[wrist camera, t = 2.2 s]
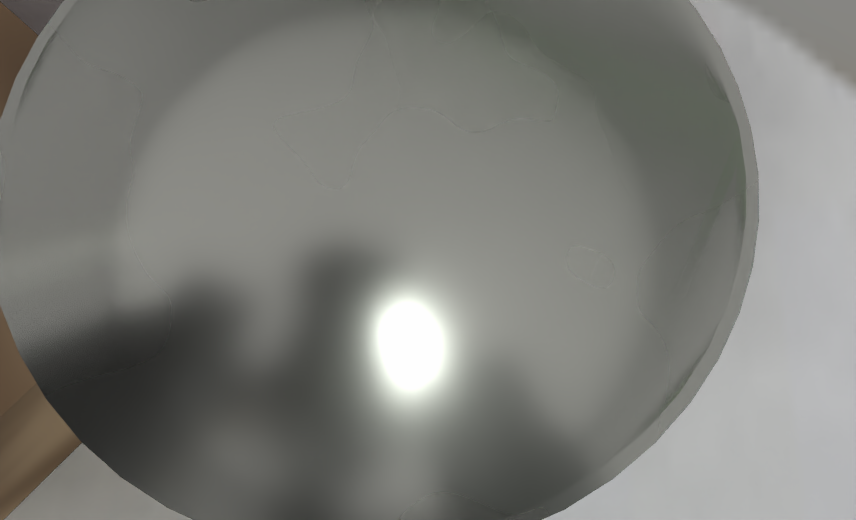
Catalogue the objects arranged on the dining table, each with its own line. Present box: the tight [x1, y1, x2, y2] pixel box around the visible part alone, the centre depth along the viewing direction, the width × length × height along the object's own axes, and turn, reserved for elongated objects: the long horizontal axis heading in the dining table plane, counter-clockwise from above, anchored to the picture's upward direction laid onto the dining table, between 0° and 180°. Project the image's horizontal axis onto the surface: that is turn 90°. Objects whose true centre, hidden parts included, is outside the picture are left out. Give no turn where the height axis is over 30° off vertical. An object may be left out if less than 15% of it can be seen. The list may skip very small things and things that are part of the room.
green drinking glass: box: [0, 0, 759, 520], centre depth 12 cm, size 6×6×13 cm
